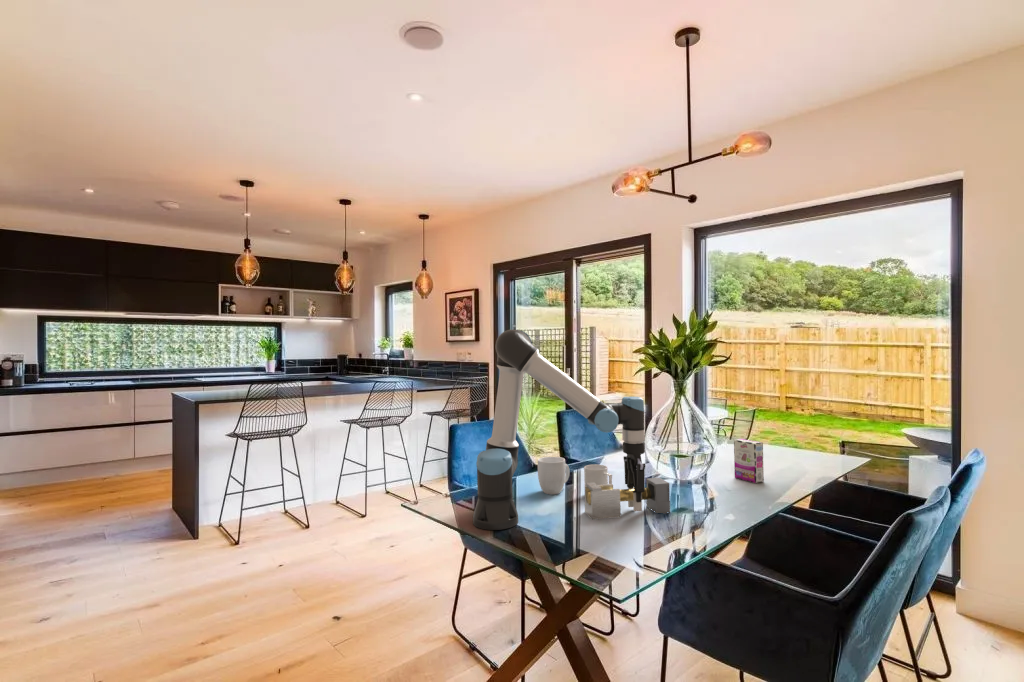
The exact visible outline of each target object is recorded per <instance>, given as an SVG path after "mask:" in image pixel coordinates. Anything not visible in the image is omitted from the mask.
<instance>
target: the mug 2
mask: <svg viewBox="0 0 1024 682" xmlns="http://www.w3.org/2000/svg"><path fill="white" fill-rule="evenodd" d="M583 467H584V469H583V470H584V471H583V473H584V476H583V479H584V480H583V481H584V487H585V486H586V483H592V482H594V483H596V484H597V485H604V484H613V474H612V473H609V471H608V466H606V465H605V464H604V465H603V464H588V465H585V466H583Z"/></svg>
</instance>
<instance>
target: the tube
mask: <svg viewBox="0 0 1024 682" xmlns="http://www.w3.org/2000/svg"><path fill="white" fill-rule="evenodd" d="M633 491H634V489H628V488H625V489H624V488H623V489H622V488H621V489H620V503H621V502H622V503H623V502H628V501H633ZM647 499H651V491H650V489H649V488H648V487H647V486H646V487H645V492H642V501H647ZM587 502H588V504H591V492H587Z"/></svg>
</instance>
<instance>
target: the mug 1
mask: <svg viewBox="0 0 1024 682" xmlns="http://www.w3.org/2000/svg"><path fill="white" fill-rule="evenodd" d="M570 472H571V471H570V467H569V465H568V464H567V463H566V459H565V458H564V457H560V456H543V457H539V458H537V478H538V483H539V486H540V489H541V490H542V492H543V494H547V495H551V496H553V495H558V494H560V493H561V492H562V490H563V489H564V484H566V483H567V482H568V480H569V478H570Z"/></svg>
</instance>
